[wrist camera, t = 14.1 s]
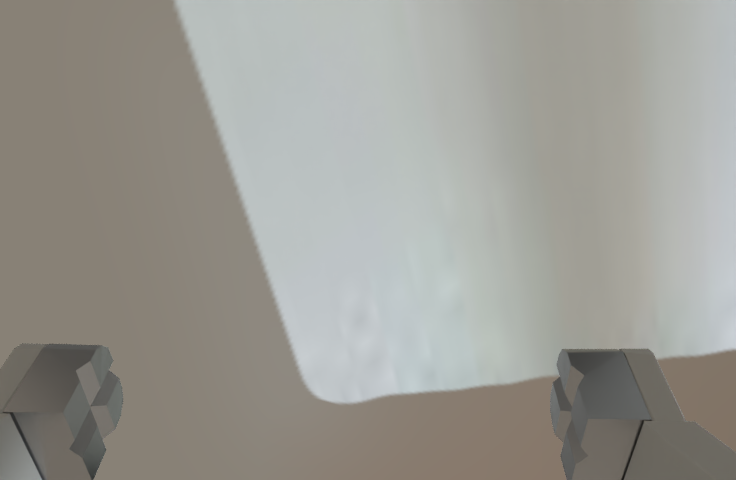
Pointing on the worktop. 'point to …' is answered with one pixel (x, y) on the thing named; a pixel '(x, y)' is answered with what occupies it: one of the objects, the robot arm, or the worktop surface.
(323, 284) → the worktop surface
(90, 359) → the robot arm
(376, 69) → the worktop surface
